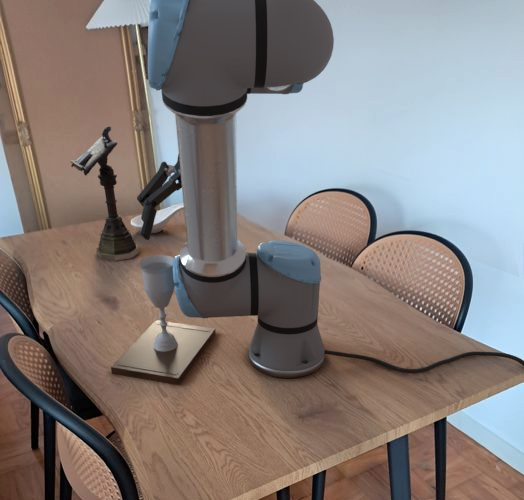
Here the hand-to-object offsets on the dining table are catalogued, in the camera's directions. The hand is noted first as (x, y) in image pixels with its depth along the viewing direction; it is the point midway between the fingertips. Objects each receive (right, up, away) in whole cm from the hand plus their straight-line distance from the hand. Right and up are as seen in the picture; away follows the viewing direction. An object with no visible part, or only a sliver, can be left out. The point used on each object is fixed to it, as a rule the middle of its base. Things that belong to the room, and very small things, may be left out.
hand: (176, 240), depth 109 cm
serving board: (-2, -22, +4) cm, 23 cm away
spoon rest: (-13, +18, +70) cm, 74 cm away
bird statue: (-27, +5, +50) cm, 57 cm away
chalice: (-3, -21, +4) cm, 21 cm away
